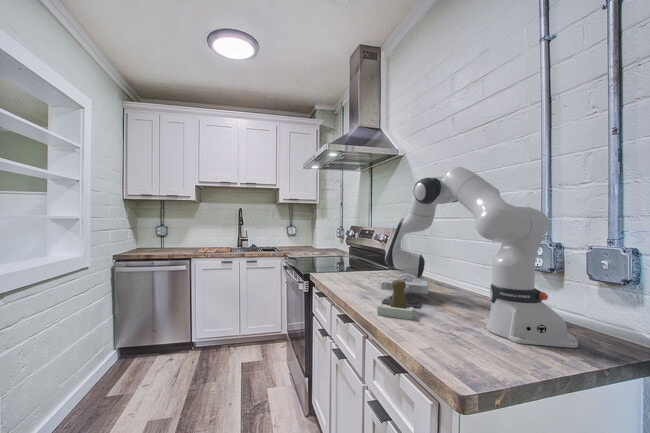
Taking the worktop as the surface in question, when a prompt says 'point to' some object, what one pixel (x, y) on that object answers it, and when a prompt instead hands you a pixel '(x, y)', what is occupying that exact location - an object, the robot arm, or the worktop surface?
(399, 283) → the cork
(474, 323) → the worktop surface
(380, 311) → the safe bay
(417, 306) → the trap squares
